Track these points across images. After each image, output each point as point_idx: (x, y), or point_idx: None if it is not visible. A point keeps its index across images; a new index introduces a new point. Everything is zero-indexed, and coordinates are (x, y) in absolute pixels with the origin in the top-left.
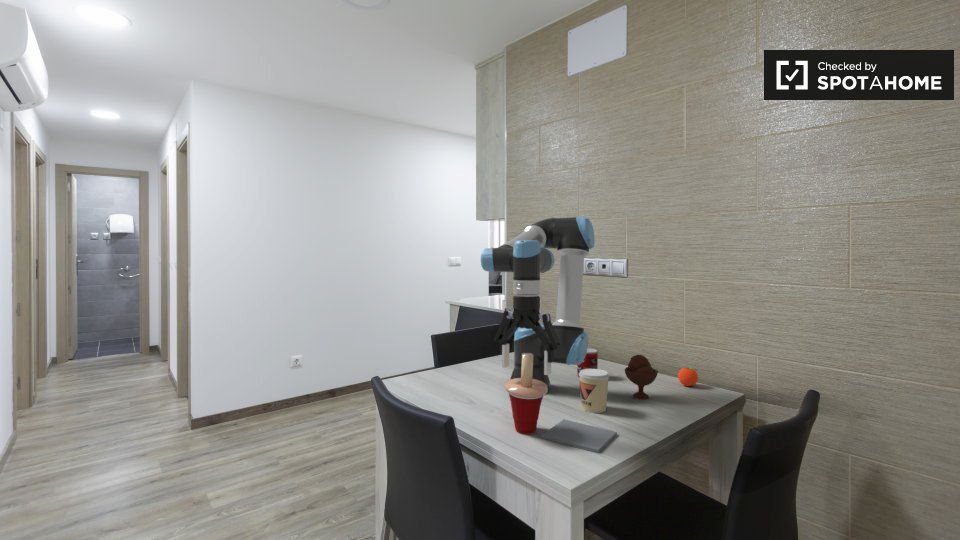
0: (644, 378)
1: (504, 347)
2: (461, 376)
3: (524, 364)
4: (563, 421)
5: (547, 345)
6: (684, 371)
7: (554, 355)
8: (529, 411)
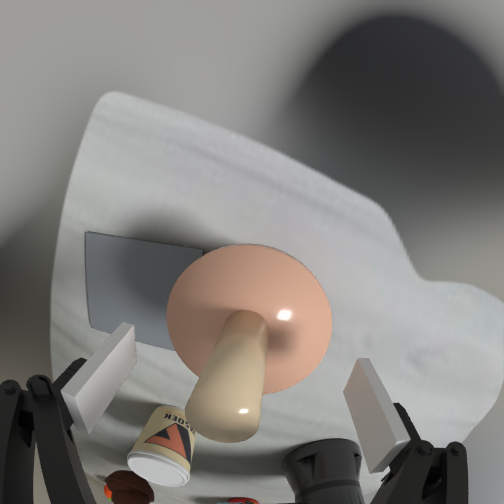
0: (116, 474)
1: (391, 432)
2: (442, 433)
3: (235, 362)
4: None
5: (41, 415)
6: None
7: None
8: None
